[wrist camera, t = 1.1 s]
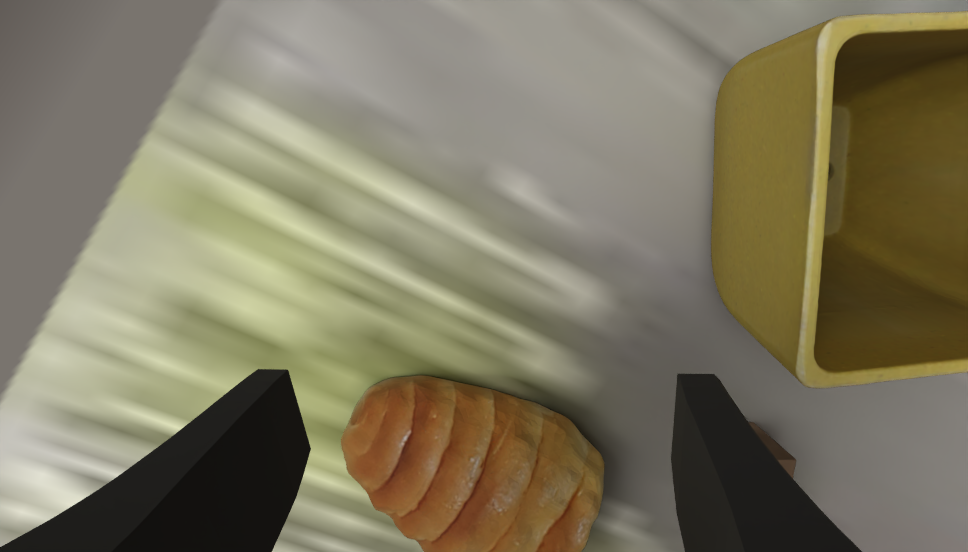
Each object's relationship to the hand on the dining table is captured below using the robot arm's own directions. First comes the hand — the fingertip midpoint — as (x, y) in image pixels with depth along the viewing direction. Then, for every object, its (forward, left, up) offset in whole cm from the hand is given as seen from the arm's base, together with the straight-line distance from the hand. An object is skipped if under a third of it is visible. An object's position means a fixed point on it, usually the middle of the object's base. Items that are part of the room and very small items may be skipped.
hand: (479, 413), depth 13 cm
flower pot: (+13, -2, -12) cm, 18 cm away
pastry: (-2, -8, -12) cm, 15 cm away
